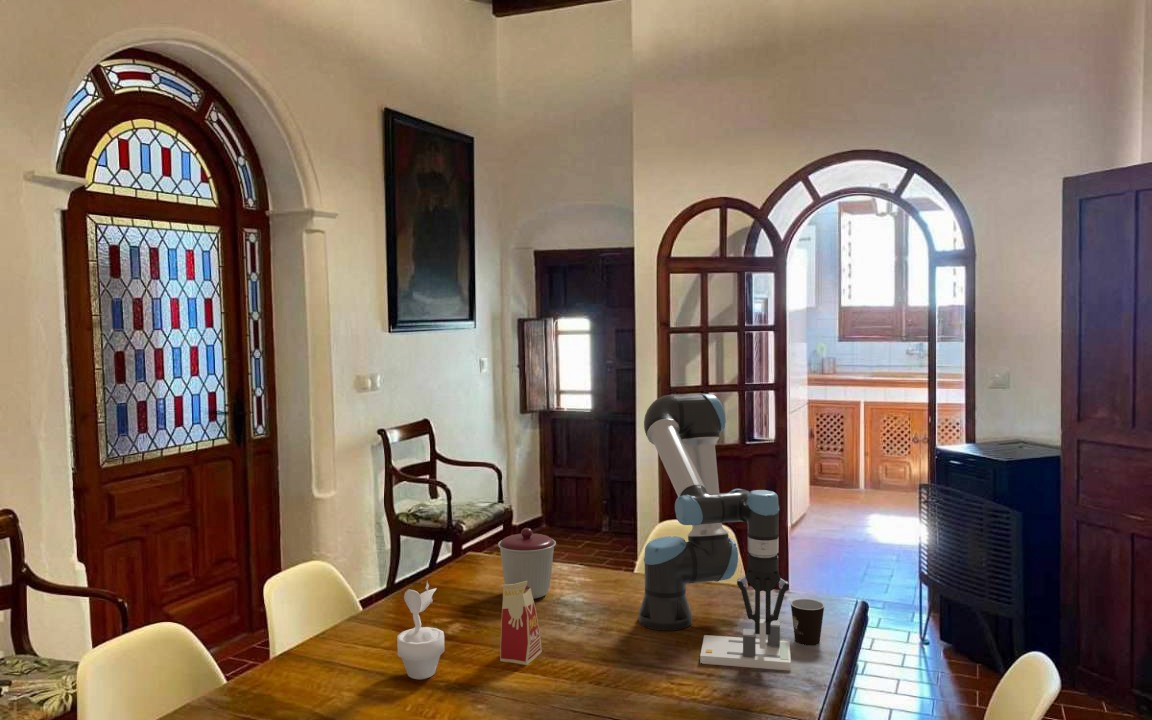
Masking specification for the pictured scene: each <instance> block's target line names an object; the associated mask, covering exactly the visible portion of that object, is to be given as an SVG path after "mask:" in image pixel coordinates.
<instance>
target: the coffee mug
mask: <svg viewBox="0 0 1152 720" xmlns="http://www.w3.org/2000/svg"><path fill="white" fill-rule="evenodd" d="M790 607H791V610H790V611H791V616H792V617H791V618H792V624H793V633H794V634H793V635H794V641H795V643H796V644H798V645H801V646H807V647H809V646H810V647H812V646H817V645H819V644H820V643H821V635H822V627H823V621H824V620H823V618H824V611H825V604H824V603H823V602H822V601H818V600H817V599H816V600H815V599H811V598H810V599H809V598H798V599H794V600H791V602H790Z"/></svg>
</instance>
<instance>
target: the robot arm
mask: <svg viewBox="0 0 1152 720" xmlns="http://www.w3.org/2000/svg"><path fill="white" fill-rule="evenodd" d="M643 419H644V420H643V429H644V432H645V436H646V439H647V440H648V441H649V443H650V444H652V445H654V446H655V449H656V451H657V453H658V455H659V458H660V460H661V463H662V464H663V467H664V469H665V471H666V473H667V475H668V477H669V480H670V482H671V485H672V486H673V489H674V490H675V493H676V495H677V498H676V500H675V503H674V513H675V517H676V520H677V521H678V523H679V524H681V525H683V526H692V529H691V530H690V532H689V533H688V534H687V540H688V541H686V540H685V538H683V537H681V536H671V535H670V536H661V537H657V538H655V539H653V540H651V541H650V540H649V542H648V543H646V546H645V548H644V557H643V563H644V595H643V599H642V602H641V604H640V608H639V611H638V622H639V624H640V625H641V626H643V627H644V628H648V629H651V630H656V631H679V630H683V629H687V628H688V627H690V626H691V625H692V624H693V614H692V611H691V607H690V603H689V601H688V598H687V594H686V590H687V589H686V588H687V585H688V584H699V583H700V584H701V583H710V582H715V583H716V582H717V583H719V582H720V581H727V580H730V579H732V577H734V575H735V573H736V572H737V568H738V563H739V552H738V551H739V550H738V546H737V543H736V541H735V540H734V539H732V538H731V537H730V536H729V532H728V531H727V530H726V529H725V528H724V527H723V524H725V523H737V522H738V523H739V522H742V523H745V524H747V552H748V554H747V571H746V572H745V576H743V577H742V578H738V579H737V580H736V585H737V587H738V588H739V589H740V591H741V596H742V599H743V604H744V607H745V611H746V616H747V618H748V619H749V620H752V621H754V629H755V633H756V635H759V639H760V649H766V638H767V637H766V635H767V636H768V635H770V633H771V622H772V621H774V620H775V621H777V620H779V617H780V614H781V613H780V612H781V609H782V605H783V602H784V597H785V593H786V592H787V591H788V589H789V588H790V583H789V581H787V580H785V579H783V578H781V575H780V572H779V555H778V554H779V543H780V542H779V540H780V539H779V537H780V536H779V528H780V527H779V525H780V524H779V523H780V522H779V521H780V519H779V518H780V516H779V515H780V505H779V496H778V494H777V493H776V492H774V491H772V490H766V489H756V490H755V489H753V490H751V491H749V490H746V489H742V488H734V489H732V490H730V491H729V492H720V488H719V487H720V486H719V485H720V484H719V475H718V466H717V465H718V464H717V454H716V443H717V442H718V441H719V439H720V434H721V433H722V432H724V430H725V429H726V413H725V409H724V406H723V404H722V402H721V400H720V399H719V397H717V396H716V395H715V394H713V393H712V394H711V393H689V394H667V395H662V396H660V397H658V398H657V399H655V400H654V401H653V402H651V404H650V405H649V407H648V408H647V410H646V412H645V415H644V418H643ZM747 582H748V583H747ZM748 584H749V585H750V586H751V587H752V589H753V590H754V612H753V610H752V605H751V602H750V598H749V592H748V589H747V585H748ZM777 585H778V588H779V589H778V593H777V599H776V602H775V604H774V609H773V613H772V612H771V611H772V610H771V605H772V604H771V603H772V601H771V600H772V599H771V598H772V597H771V595H772V593H771V592H772V591H773V590H774V589H775V587H776V586H777ZM761 592H765V618H761ZM771 613H772V614H771Z"/></svg>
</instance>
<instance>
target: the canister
mask: <svg viewBox="0 0 1152 720" xmlns="http://www.w3.org/2000/svg"><path fill="white" fill-rule="evenodd" d="M556 545H557V541H556V540H554V539H553V538H551V537H549V536H548V535H546V534H542V533H534V532H533V530H532V528H530V527H524V528H523V529H522V530H521V532H520V533H517V534H511V535H509V536H506V537H504V538H503V539H501V540H500V541H498V543H497V546H498V548H499V549H500V559H501V567H502V575H503V580H504V585H508V584H516V583H520V582H524V581H527V586H528V587H530V588H531V592H532V596H533V600H536V599H539V598H542V597H544V596H546V595H547V594H548V592H549V590H550V586H551V579H552V571H553V561H554V560H553V558H554V550H555V548H554V547H555V546H556Z"/></svg>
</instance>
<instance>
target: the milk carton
mask: <svg viewBox="0 0 1152 720" xmlns="http://www.w3.org/2000/svg"><path fill="white" fill-rule="evenodd" d="M500 587H501V588H502V606H501V607H502V608H501V621H500V624H501V625H500V640H499V641H500V646H499V648H500V652H499V653H500V654H499V661H500V662H504V663H512V664H519V665H523V666H528V665H529V664H530V663H531V662H532V661H534V660H535V659H536V658H537V657H538V656H539V655H540V654H541V653H542V651H543V650H542V640H541V631H540V625H539V621H538V620H539V619H538V614H537V609H536V604H535V601H534V600H535V599H533V596H532V592H531V588H530V587H528V586H527V581H524V582H520V583H516V584H508V585H505V584H500Z"/></svg>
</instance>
